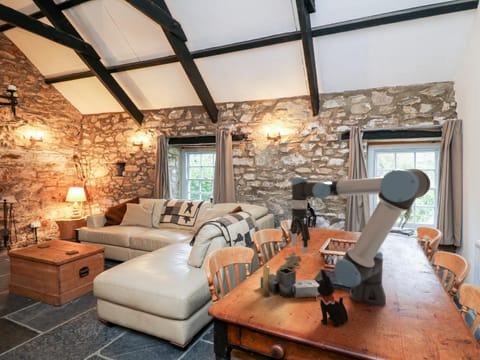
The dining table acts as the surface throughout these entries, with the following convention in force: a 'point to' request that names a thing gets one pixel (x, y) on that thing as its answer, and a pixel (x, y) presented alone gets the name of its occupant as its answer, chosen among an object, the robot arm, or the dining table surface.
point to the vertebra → (292, 261)
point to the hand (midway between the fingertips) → (299, 249)
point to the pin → (266, 280)
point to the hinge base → (282, 282)
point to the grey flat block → (305, 288)
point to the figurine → (330, 302)
